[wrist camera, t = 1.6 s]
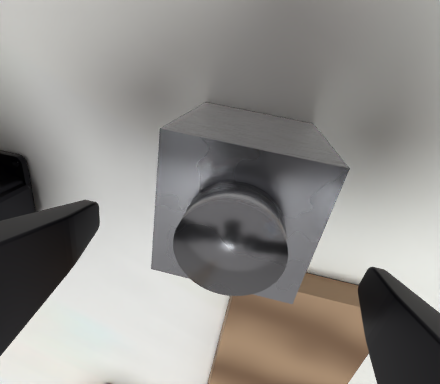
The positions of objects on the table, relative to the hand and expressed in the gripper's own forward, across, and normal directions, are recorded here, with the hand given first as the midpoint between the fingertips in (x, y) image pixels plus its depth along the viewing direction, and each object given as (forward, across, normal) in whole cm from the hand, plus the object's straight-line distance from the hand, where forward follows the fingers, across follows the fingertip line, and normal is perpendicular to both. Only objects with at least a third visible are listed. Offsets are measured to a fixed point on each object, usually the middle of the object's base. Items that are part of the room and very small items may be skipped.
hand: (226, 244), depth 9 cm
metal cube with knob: (+8, 0, 0) cm, 8 cm away
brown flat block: (+8, -6, +18) cm, 21 cm away
